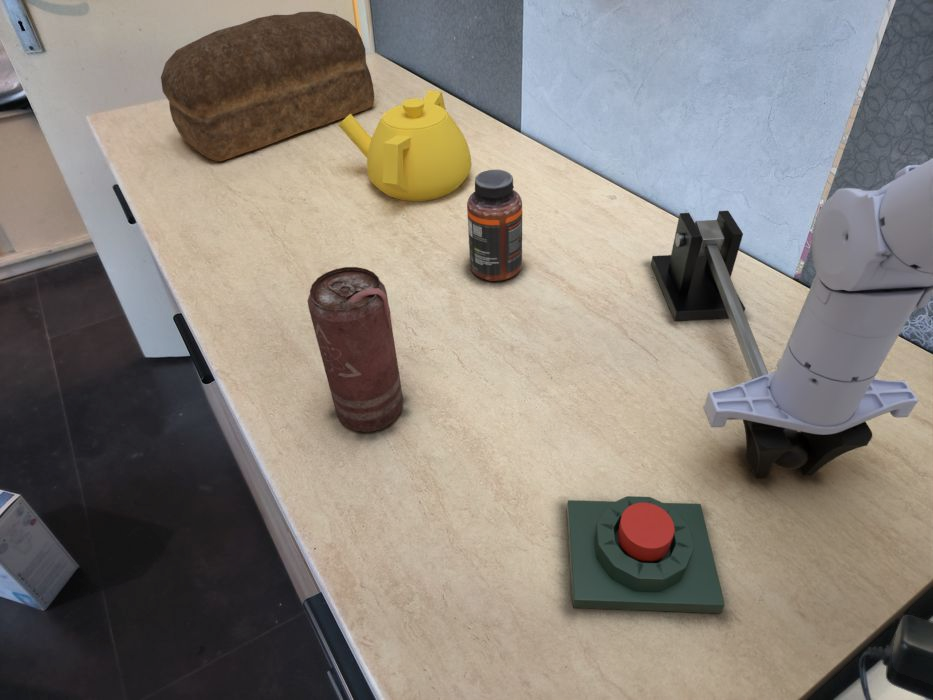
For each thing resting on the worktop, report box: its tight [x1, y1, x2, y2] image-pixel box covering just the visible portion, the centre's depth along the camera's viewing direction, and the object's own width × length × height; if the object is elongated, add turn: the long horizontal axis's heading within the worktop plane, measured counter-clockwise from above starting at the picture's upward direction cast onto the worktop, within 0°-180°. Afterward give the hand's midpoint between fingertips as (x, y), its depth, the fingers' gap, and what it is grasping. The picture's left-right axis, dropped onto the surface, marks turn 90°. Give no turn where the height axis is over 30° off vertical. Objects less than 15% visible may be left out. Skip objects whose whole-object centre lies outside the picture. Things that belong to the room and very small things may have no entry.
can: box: [307, 266, 404, 433], centre depth 55 cm, size 6×6×14 cm
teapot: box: [337, 89, 472, 202], centre depth 87 cm, size 20×18×11 cm
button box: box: [566, 495, 726, 614], centre depth 46 cm, size 10×8×3 cm
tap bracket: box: [650, 210, 746, 322], centre depth 67 cm, size 10×7×8 cm
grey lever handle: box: [694, 219, 811, 470], centre depth 58 cm, size 27×3×3 cm, turn 2°
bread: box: [160, 10, 375, 162], centre depth 102 cm, size 15×32×16 cm, turn 130°
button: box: [618, 503, 675, 561], centre depth 45 cm, size 4×4×2 cm
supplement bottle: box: [466, 169, 523, 282], centre depth 71 cm, size 6×6×11 cm
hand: (775, 470), depth 54 cm, fingers closed on grey lever handle, 3 cm apart
